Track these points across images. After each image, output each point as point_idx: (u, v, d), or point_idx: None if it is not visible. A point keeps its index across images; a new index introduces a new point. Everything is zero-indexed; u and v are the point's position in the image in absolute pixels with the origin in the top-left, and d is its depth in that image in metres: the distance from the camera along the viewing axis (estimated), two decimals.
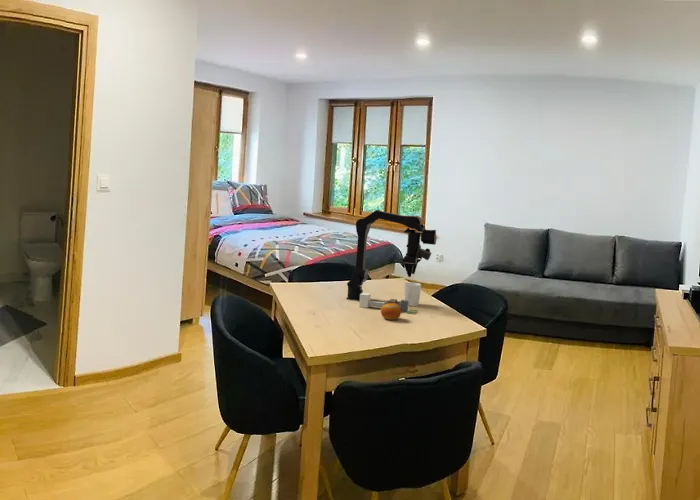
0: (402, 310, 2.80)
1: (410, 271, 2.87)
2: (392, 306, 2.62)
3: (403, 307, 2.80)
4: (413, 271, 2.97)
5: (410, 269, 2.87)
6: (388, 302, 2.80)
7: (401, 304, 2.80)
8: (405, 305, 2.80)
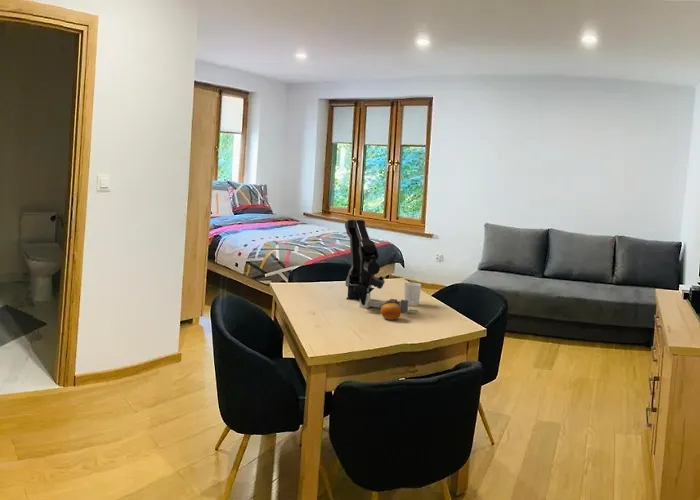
0: (402, 310, 2.80)
1: (364, 299, 2.83)
2: (392, 306, 2.62)
3: (403, 307, 2.80)
4: None
5: (364, 297, 2.83)
6: (388, 302, 2.80)
7: (401, 304, 2.80)
8: (405, 305, 2.80)
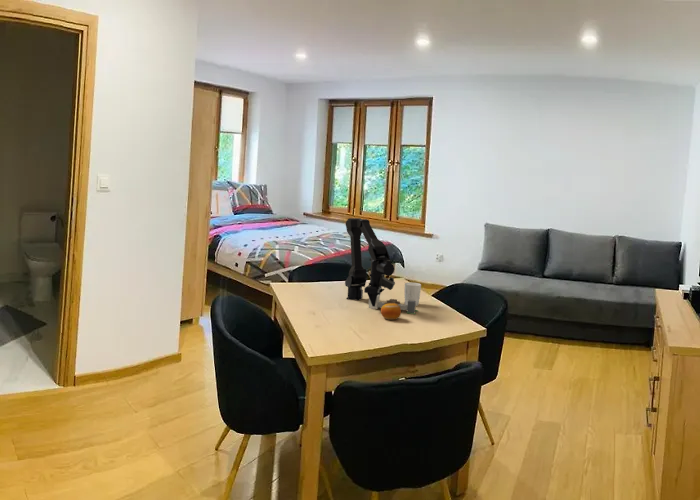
0: (409, 311, 2.79)
1: (374, 300, 2.82)
2: (392, 306, 2.62)
3: (410, 308, 2.79)
4: None
5: (374, 298, 2.82)
6: (388, 302, 2.80)
7: (408, 305, 2.79)
8: (413, 306, 2.79)
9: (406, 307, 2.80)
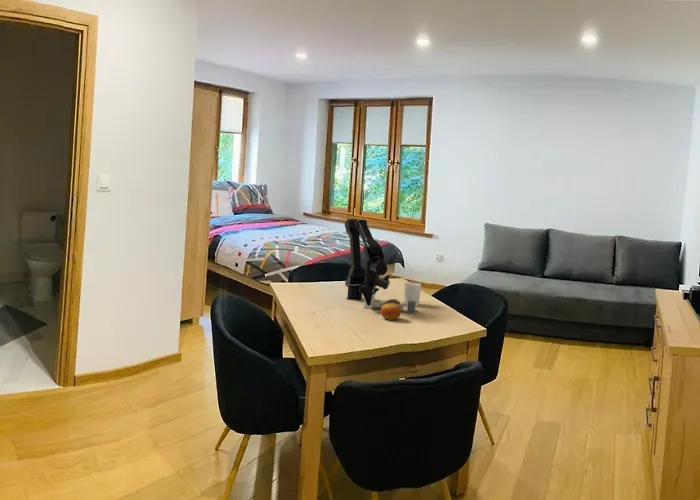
0: (410, 311, 2.79)
1: (369, 300, 2.83)
2: (392, 306, 2.62)
3: (411, 308, 2.79)
4: None
5: (369, 298, 2.82)
6: (388, 302, 2.80)
7: (408, 305, 2.79)
8: (413, 306, 2.79)
9: (401, 306, 2.81)
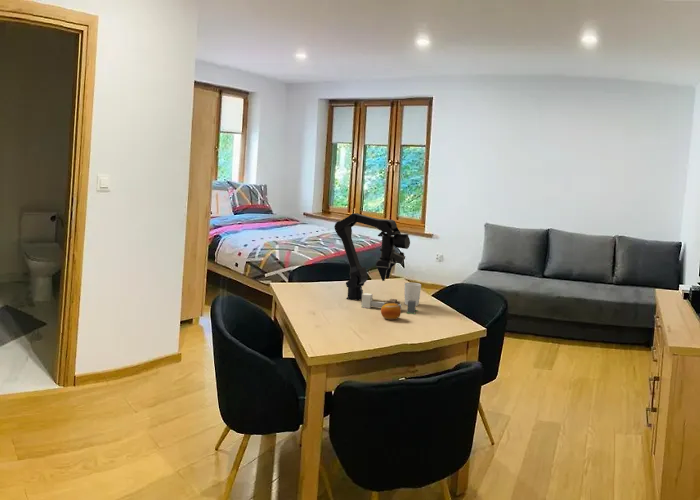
0: (410, 311, 2.79)
1: (384, 275, 2.87)
2: (392, 306, 2.62)
3: (411, 308, 2.79)
4: (387, 275, 2.97)
5: (384, 273, 2.87)
6: (388, 302, 2.80)
7: (409, 305, 2.79)
8: (413, 306, 2.79)
9: (399, 306, 2.81)
